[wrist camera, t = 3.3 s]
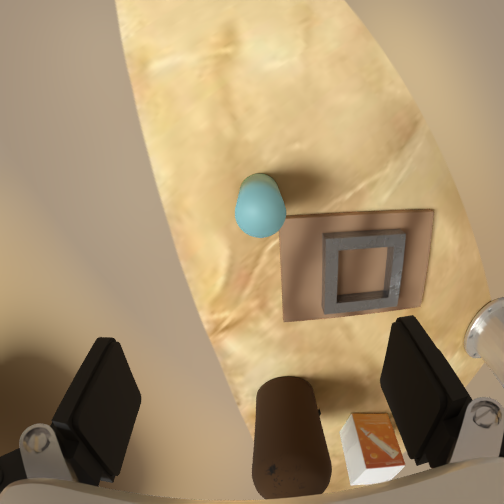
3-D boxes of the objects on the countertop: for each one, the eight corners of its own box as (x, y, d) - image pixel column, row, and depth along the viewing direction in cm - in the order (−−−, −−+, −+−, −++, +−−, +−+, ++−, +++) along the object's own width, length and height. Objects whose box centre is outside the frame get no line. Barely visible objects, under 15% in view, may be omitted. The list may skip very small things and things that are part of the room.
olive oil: (242, 405, 50) (237, 540, 27) (270, 365, 46) (277, 519, 23) (297, 419, 52) (310, 544, 28) (329, 382, 48) (360, 520, 25)
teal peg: (277, 172, 36) (284, 186, 27) (279, 210, 37) (287, 235, 29) (237, 175, 36) (232, 190, 28) (241, 213, 38) (237, 239, 29)
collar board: (429, 209, 37) (441, 216, 34) (417, 302, 42) (426, 314, 39) (278, 216, 38) (280, 224, 35) (283, 317, 43) (284, 330, 40)
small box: (387, 412, 52) (406, 465, 40) (373, 431, 54) (389, 482, 42) (350, 412, 51) (366, 469, 39) (338, 431, 54) (349, 486, 41)
